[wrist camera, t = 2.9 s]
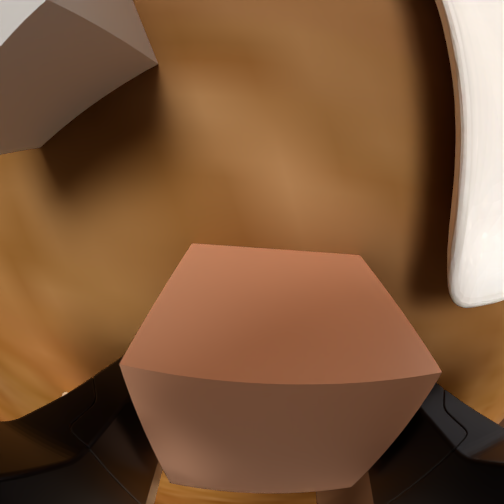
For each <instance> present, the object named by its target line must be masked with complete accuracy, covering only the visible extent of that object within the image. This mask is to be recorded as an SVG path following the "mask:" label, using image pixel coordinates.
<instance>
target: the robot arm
mask: <svg viewBox="0 0 504 504" xmlns="http://www.w3.org/2000/svg"><path fill="white" fill-rule="evenodd" d="M122 358H123V356H122V357H121V358H120V359H118V360H117V361H115V362H114V363H112V364H111V365H109V366H108V367H106V368H105V369H104V370H102V371H101V372H99V373H98V374H96V375H95V376H94V377H93V378H90V379H89V380H87V381H86V382H84V383H83V384H81V385H80V386H78V387H77V388H75V389H73V390H72V391H70V392H69V393H67V394H65V395H63V396H62V397H60V398H58V399H56V400H54V401H53V402H51V403H49V404H47V405H45V406H43V407H41V408H39V409H37V410H35V411H33V412H31V413H29V414H27V415H25V416H23V417H21V418H19V419H16V420H12V421H2V422H1V421H0V504H146V501H147V498H148V494H149V491H150V487H151V484H152V481H153V477H154V474H155V471H156V467H157V464H158V459H157V457H156V455H155V453H154V451H153V449H152V446H151V444H150V442H149V440H148V438H147V436H146V433H145V431H144V429H143V427H142V424H141V422H140V419H139V417H138V415H137V412H136V410H135V407H134V405H133V402H132V399H131V397H130V394H129V391H128V389H127V386H126V383H125V380H124V377H123V374H122V371H121V368H120V365H119V364H120V362H121V360H122ZM368 474H369V480H370V485H371V491H372V497H373V503H374V504H504V428H503V427H501V426H500V425H498V424H496V423H495V422H493V421H492V420H490V419H488V418H487V417H485V416H483V415H482V414H480V413H478V412H477V411H475V410H474V409H472V408H471V407H469V406H467V405H466V404H464V403H463V402H462V401H460V400H459V399H457V398H456V397H455V396H453V395H452V394H450V393H449V392H448V391H447V390H444V389H443V388H442V387H441V386H440V385H438V384H437V383H435V385H434V386H433V388H432V390H431V391H430V393H429V394H428V396H427V397H426V399H425V400H424V402H423V403H422V405H421V406H420V408H419V409H418V410H417V412H416V413H415V415H414V416H413V417H412V419H411V420H410V421H409V423H408V424H407V425H406V427H405V428H404V429H403V431H402V432H401V433H400V434H399V436H398V437H397V438H396V439H395V441H394V442H393V443H392V444H391V445H390V447H389V448H388V449H387V450H386V451H385V452H384V454H383V455H382V456H381V457H380V458H379V459H378V460H377V461H376V462H375V464H374V465H373V466H372V467H371V468H370V469H369V470H368Z"/></svg>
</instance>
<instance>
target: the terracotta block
mask: <svg viewBox="0 0 504 504" xmlns="http://www.w3.org/2000/svg"><path fill="white" fill-rule="evenodd" d="M119 365H120V368H121V371H122V374H123V377H124V380H125V383H126V386H127V389H128V391H129V394H130V397H131V399H132V402H133V405H134V407H135V410H136V412H137V415H138V417H139V419H140V422H141V424H142V427H143V429H144V431H145V433H146V436H147V438H148V440H149V442H150V444H151V446H152V449H153V451H154V453H155V455H156V457H157V459H158V461H159V463H160V465H161V467H162V469H163V470H164V472H165V474H166V476H167V478H168V480H169V481H170V483H173V484H178V485H184V486H190V487H196V488H203V489H211V490H219V491H230V492H245V493H300V492H314V491H325V490H334V489H341V488H348V487H352V486H353V485H354V484H355V483H356V482H357V481H358V480H359V479H360V478H361V477H362V476H363V475H364V474H365V473H366V472H367V471H368V470H369V469H370V468H371V467H372V466H373V465H374V464H375V462H376V461H377V460H378V459H379V458H380V457H381V456H382V455H383V454H384V452H385V451H386V450H387V449H388V448H389V447H390V445H391V444H392V443H393V442H394V441H395V439H396V438H397V437H398V436H399V434H400V433H401V432H402V431H403V429H404V428H405V427H406V425H407V424H408V423H409V421H410V420H411V419H412V417H413V416H414V415H415V413H416V412H417V410H418V409H419V408H420V406H421V405H422V403H423V402H424V400H425V399H426V397H427V396H428V394H429V393H430V391H431V390H432V388H433V386H434V385H435V383H436V382H437V380H438V378H439V377H440V375H441V373H442V371H441V369H440V368H439V366H438V365H437V363H436V361H435V360H434V358H433V357H432V355H431V354H430V352H429V350H428V349H427V347H426V346H425V344H424V343H423V341H422V340H421V338H420V337H419V335H418V334H417V332H416V331H415V329H414V328H413V326H412V325H411V323H410V322H409V321H408V319H407V318H406V316H405V315H404V313H403V312H402V311H401V309H400V308H399V306H398V305H397V304H396V302H395V301H394V299H393V298H392V297H391V295H390V294H389V293H388V291H387V290H386V289H385V287H384V286H383V285H382V283H381V282H380V281H379V279H378V278H377V277H376V275H375V274H374V273H373V271H372V270H371V269H370V268H369V266H368V265H367V264H366V262H365V261H364V260H363V259H362V257H361V256H360V255H352V254H338V253H324V252H310V251H296V250H282V249H267V248H253V247H238V246H223V245H208V244H193V243H192V244H191V246H190V247H189V249H188V250H187V252H186V253H185V255H184V256H183V258H182V260H181V261H180V263H179V264H178V266H177V267H176V269H175V271H174V272H173V274H172V275H171V277H170V279H169V280H168V282H167V283H166V285H165V287H164V288H163V290H162V292H161V293H160V295H159V296H158V298H157V300H156V301H155V303H154V305H153V306H152V308H151V310H150V311H149V313H148V315H147V316H146V318H145V320H144V321H143V323H142V325H141V327H140V328H139V330H138V332H137V334H136V335H135V337H134V339H133V340H132V342H131V344H130V346H129V348H128V349H127V351H126V353H125V355H124V356H123V358H122V360H121V362H120V364H119Z"/></svg>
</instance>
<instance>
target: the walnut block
mask: <svg viewBox="0 0 504 504" xmlns="http://www.w3.org/2000/svg"><path fill="white" fill-rule="evenodd" d="M316 499H317V504H374V503H373V497H372V491H371V485H370V480H369V474H368V471H367V472H366V473H365V474H364V475H363V476H362V477H361V478H360V479H359V480H358V481H357V482H356V483H355V484H354V485H353V486H352V487H348V488H341V489H334V490H325V491H316Z"/></svg>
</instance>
